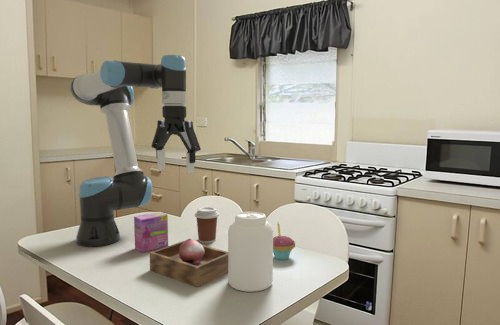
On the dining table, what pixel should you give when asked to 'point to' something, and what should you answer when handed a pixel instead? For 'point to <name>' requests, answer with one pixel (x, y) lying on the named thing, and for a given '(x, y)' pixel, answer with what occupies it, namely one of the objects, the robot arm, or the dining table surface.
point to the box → (151, 231)
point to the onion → (191, 252)
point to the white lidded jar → (250, 252)
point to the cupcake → (282, 246)
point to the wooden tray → (189, 265)
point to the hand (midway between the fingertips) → (175, 171)
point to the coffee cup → (206, 224)
